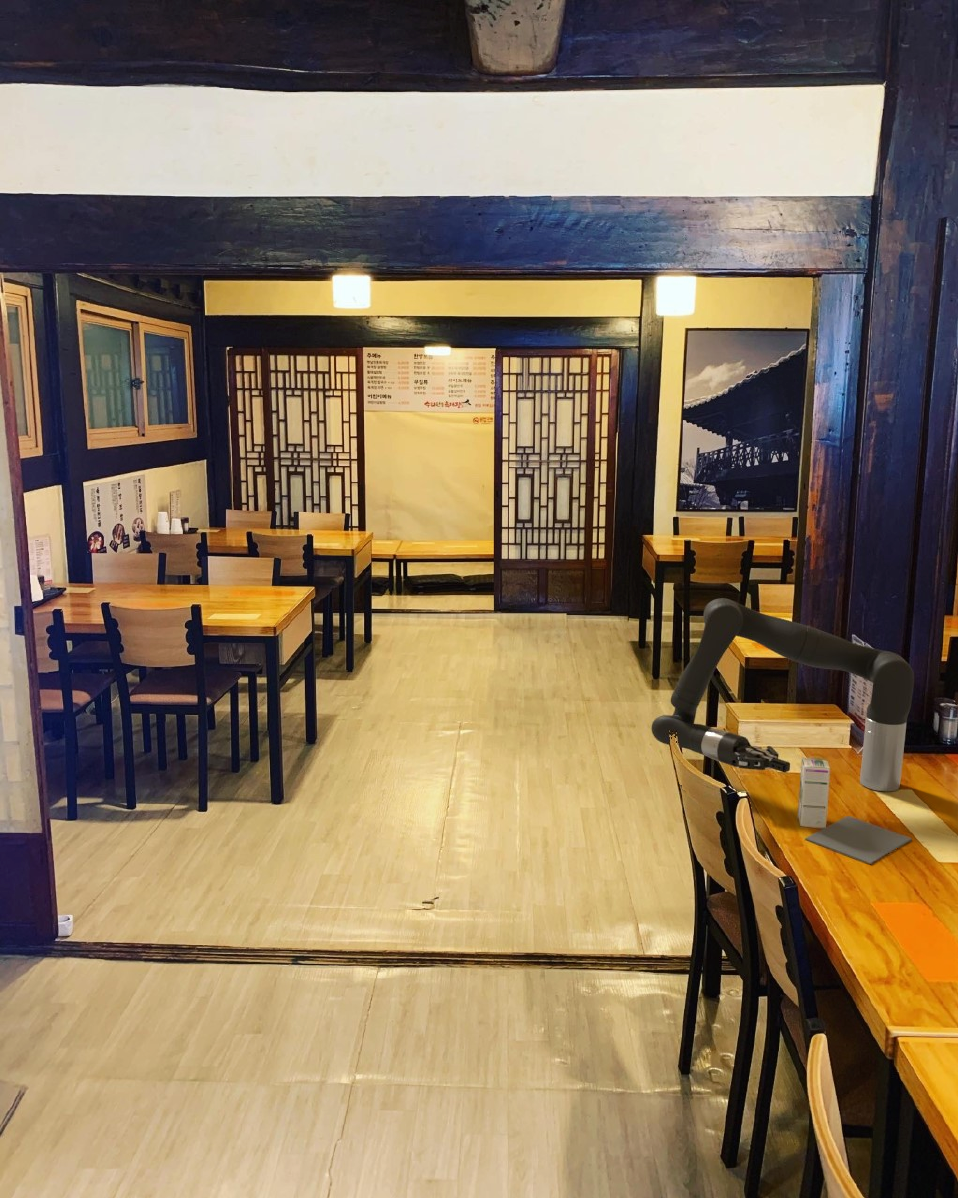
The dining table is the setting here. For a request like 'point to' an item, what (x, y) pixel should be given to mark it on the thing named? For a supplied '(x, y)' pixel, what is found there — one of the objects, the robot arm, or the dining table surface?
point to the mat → (858, 839)
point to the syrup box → (813, 792)
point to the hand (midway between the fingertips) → (788, 767)
